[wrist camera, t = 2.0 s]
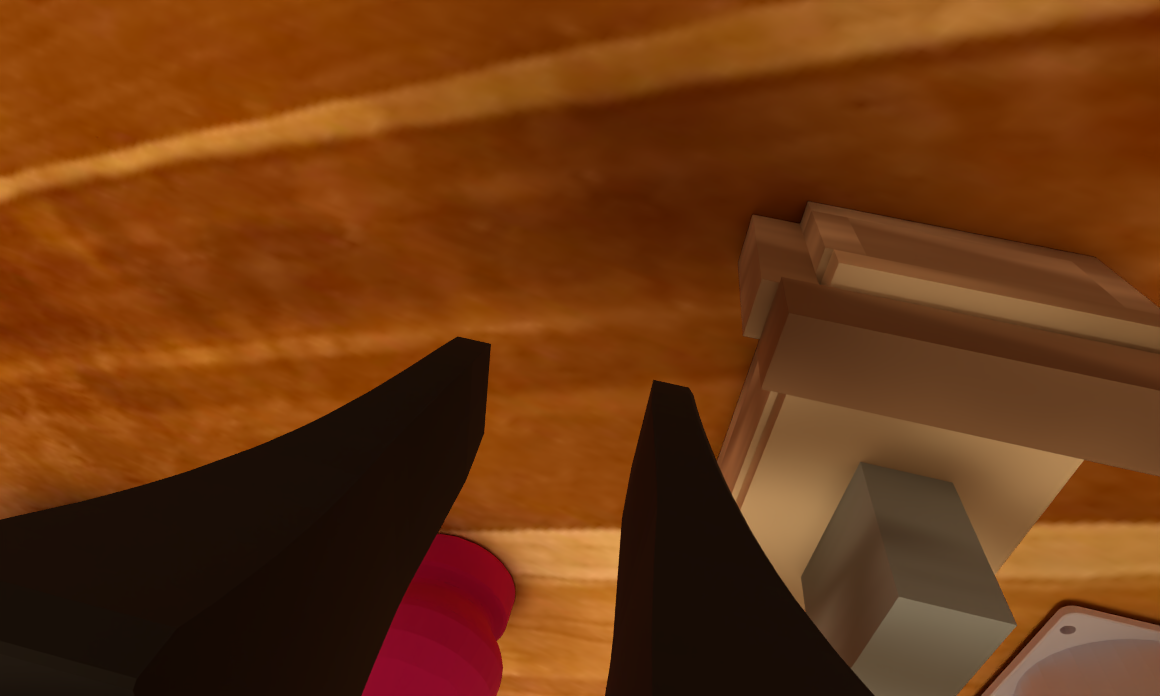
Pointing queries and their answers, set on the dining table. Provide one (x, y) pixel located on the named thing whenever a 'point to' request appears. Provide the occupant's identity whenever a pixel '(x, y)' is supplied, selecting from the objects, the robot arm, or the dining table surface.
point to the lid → (912, 497)
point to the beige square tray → (831, 228)
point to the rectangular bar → (964, 374)
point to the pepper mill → (447, 626)
